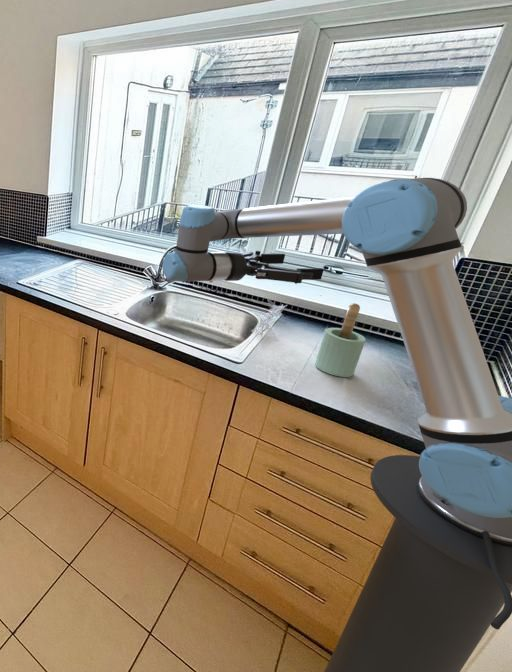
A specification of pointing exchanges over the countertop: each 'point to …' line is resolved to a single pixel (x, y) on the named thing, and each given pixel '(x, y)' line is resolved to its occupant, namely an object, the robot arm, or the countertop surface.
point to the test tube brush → (268, 319)
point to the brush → (349, 321)
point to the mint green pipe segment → (339, 353)
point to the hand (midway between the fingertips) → (301, 265)
